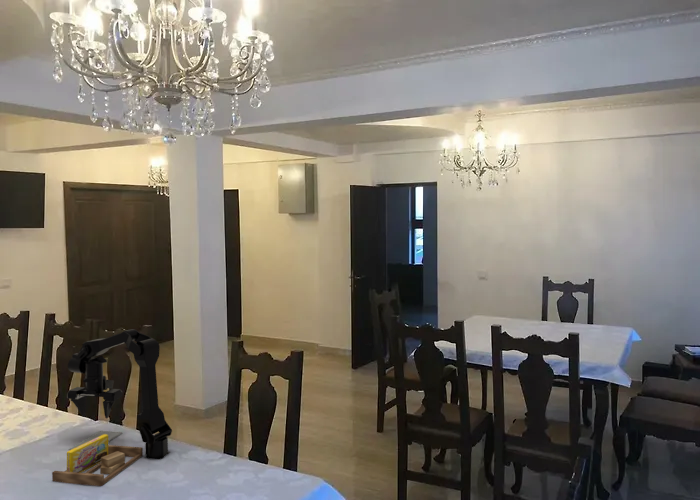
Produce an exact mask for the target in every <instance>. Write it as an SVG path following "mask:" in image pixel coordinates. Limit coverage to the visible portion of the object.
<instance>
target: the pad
mask: <svg viewBox="0 0 700 500" xmlns="http://www.w3.org/2000/svg"><path fill="white" fill-rule="evenodd" d="M103 434H106V435H108V443H110V442H112V441H114V440H115V439H117V438H118V437H120V436H121V435H122V434H123V431H113V430H112V431H111V430H109V431H108V430H99V431H98V432H96V433H94V434H92V435H91V436H89V437H87V438H86V439H84V440H83V441H81V442H79V443H77V444H76V445H74V446H72V447H69V449H68V451H70V450H72V449H74V448H76V447H78V446H80V445H82V444H84V443H87V442H89V441H91V440H93V439H95V438H97V437H99V436H101V435H103Z"/></svg>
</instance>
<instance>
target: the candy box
mask: <svg viewBox="0 0 700 500" xmlns="http://www.w3.org/2000/svg"><path fill="white" fill-rule="evenodd" d="M108 445H109V442H108V435H106V434H103V435H101V436H99V437H97V438H95V439H93V440H91V441H89V442H87V443H84V444H82V445H80V446H78V447H76V448H74V449H72V450H67V451H66V470H67V472H78V473H84V472H86V471H88V469H89V470H90V469H92V468H93V467H95V466H96V465H98V464H99V463H101V457H104V456H106V455H108Z"/></svg>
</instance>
